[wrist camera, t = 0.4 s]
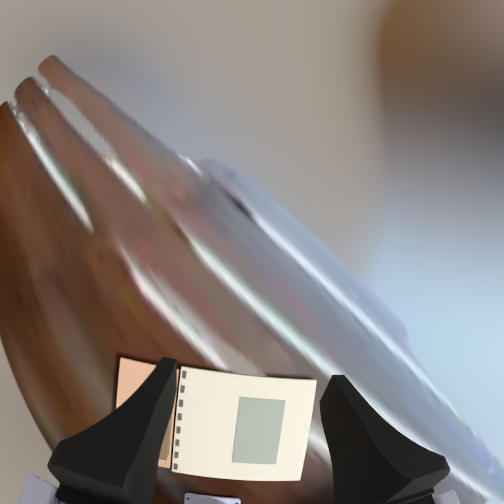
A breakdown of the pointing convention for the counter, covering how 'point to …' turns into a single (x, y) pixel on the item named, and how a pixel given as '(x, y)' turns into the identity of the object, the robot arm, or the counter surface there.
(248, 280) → the counter surface
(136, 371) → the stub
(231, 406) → the board
